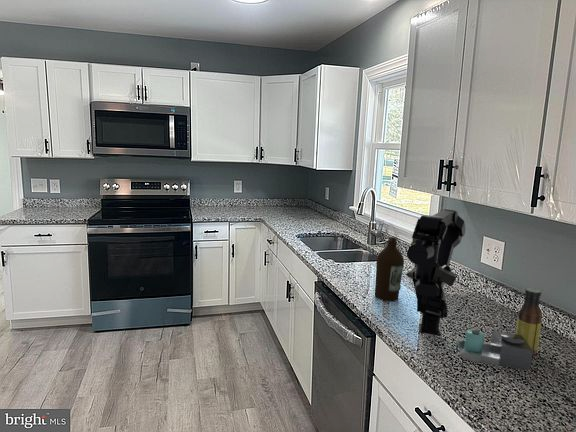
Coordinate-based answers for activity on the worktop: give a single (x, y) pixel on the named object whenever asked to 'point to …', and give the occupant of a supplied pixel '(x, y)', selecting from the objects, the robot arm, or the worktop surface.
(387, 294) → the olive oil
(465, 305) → the worktop surface
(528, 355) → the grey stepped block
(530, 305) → the sauce bottle
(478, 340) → the teal bottle with cap
